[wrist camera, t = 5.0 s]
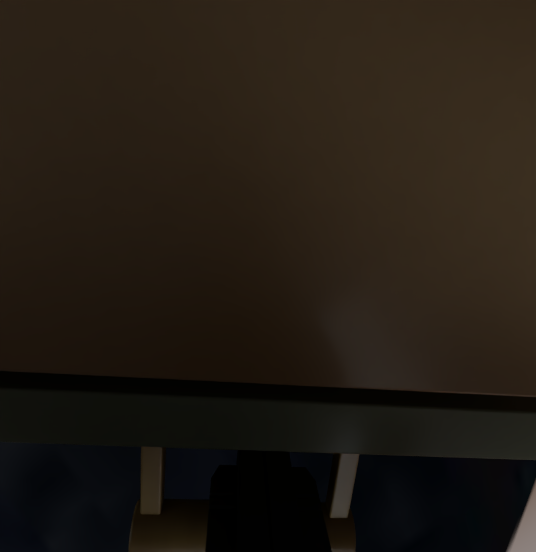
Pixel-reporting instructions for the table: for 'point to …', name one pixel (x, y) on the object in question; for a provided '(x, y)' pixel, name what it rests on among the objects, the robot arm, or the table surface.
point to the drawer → (255, 433)
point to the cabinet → (271, 192)
